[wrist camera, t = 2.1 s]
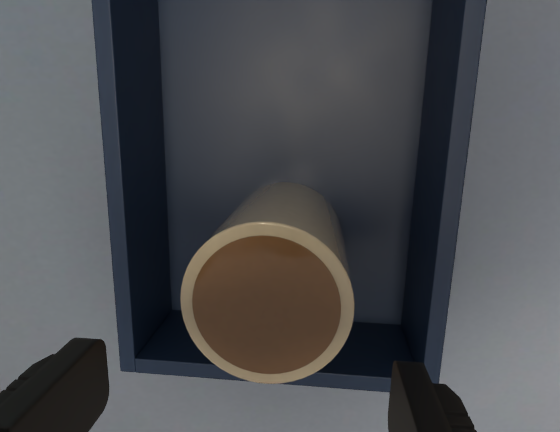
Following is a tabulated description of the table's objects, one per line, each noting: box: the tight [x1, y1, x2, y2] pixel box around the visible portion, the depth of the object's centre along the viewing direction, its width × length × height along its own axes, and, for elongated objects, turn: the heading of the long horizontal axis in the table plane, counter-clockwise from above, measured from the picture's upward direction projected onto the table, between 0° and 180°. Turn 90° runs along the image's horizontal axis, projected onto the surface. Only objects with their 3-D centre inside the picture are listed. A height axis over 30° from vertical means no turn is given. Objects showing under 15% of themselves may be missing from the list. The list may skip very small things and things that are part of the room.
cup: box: [180, 182, 355, 384], centre depth 20 cm, size 7×7×9 cm
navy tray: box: [92, 0, 487, 392], centre depth 20 cm, size 26×16×6 cm, turn 179°
